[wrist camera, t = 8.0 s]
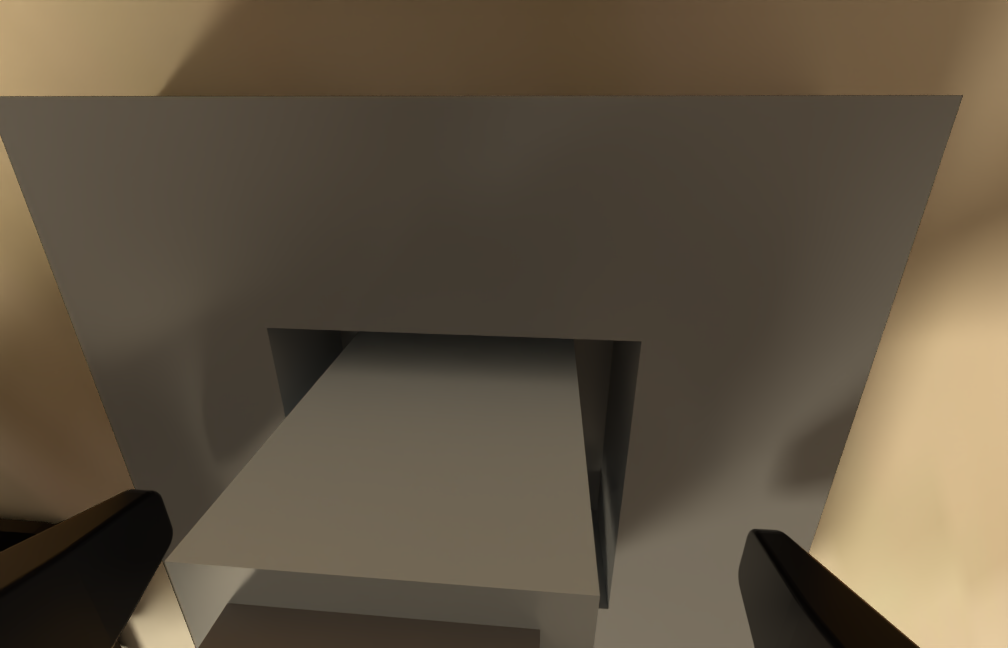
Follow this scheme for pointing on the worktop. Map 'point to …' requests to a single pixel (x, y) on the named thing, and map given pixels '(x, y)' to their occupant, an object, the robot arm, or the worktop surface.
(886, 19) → the worktop surface
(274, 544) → the plug
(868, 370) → the socket plate
